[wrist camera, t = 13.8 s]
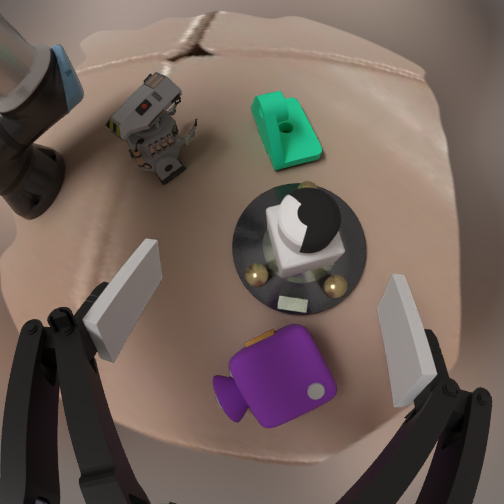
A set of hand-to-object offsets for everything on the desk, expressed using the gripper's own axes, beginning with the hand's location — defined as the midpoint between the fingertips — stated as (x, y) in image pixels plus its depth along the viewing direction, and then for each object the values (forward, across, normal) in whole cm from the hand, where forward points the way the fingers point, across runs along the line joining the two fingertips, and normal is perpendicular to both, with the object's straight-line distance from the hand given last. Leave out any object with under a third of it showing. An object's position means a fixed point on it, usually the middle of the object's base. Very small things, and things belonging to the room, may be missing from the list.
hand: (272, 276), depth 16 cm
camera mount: (+35, -1, +1) cm, 35 cm away
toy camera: (+9, +2, -24) cm, 25 cm away
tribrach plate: (+22, +3, -11) cm, 25 cm away
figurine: (+31, -19, -3) cm, 37 cm away
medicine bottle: (+20, +3, -10) cm, 23 cm away
